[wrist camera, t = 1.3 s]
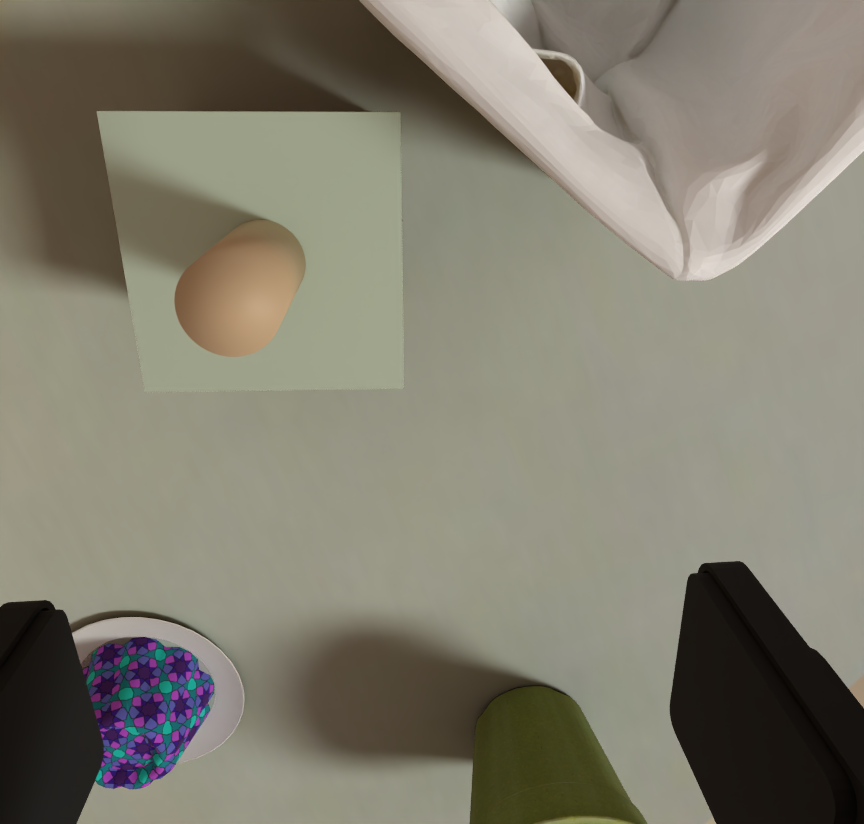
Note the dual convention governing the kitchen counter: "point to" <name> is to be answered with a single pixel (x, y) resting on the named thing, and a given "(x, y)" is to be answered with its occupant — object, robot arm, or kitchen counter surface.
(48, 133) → the kitchen counter surface
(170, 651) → the pudding
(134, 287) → the lid
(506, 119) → the storage basket
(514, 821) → the plant pot
